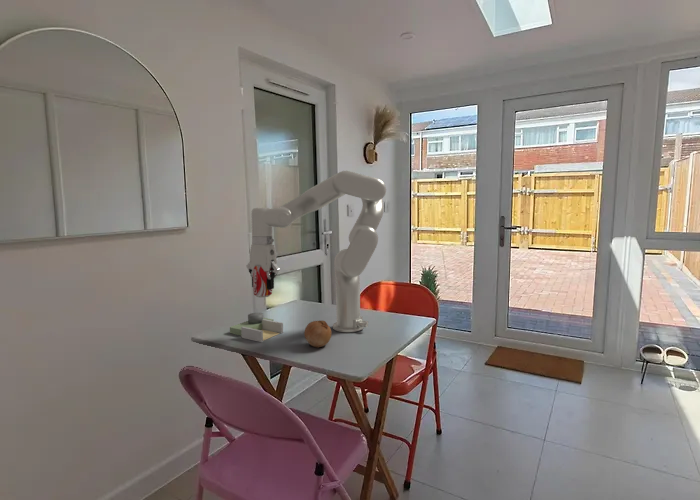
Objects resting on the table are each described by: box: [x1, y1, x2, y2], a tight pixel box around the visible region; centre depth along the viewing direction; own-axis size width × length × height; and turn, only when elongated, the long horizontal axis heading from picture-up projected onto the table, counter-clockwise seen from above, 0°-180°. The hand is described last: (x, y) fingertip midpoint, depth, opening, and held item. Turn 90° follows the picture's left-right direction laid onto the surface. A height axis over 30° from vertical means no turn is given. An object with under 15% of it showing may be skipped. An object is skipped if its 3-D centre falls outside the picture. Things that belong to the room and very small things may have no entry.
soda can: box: [252, 265, 273, 298], centre depth 147 cm, size 7×7×12 cm
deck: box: [229, 312, 284, 343], centre depth 153 cm, size 18×18×5 cm
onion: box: [303, 320, 332, 348], centre depth 137 cm, size 10×9×10 cm
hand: (262, 287), depth 148 cm, fingers closed on soda can, 6 cm apart
